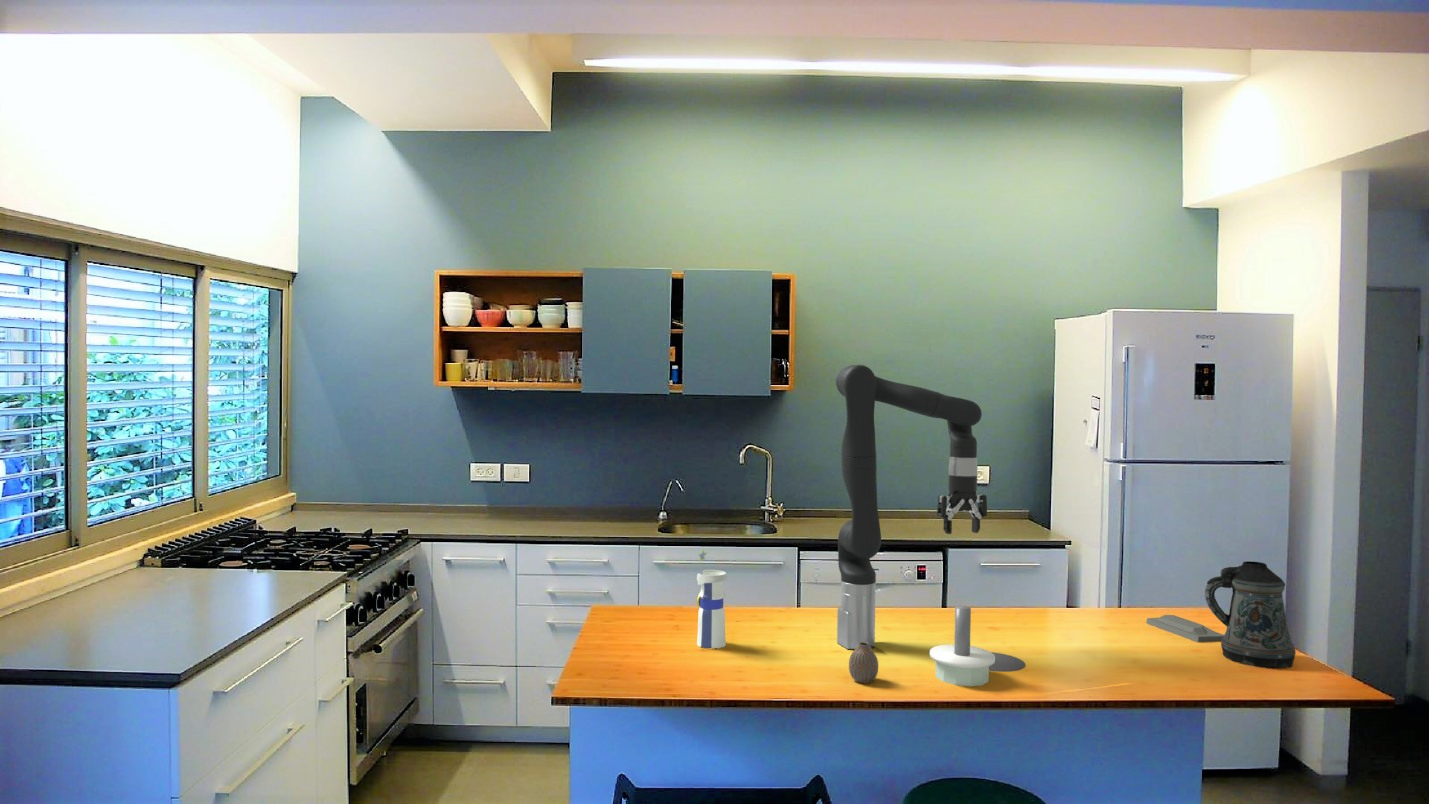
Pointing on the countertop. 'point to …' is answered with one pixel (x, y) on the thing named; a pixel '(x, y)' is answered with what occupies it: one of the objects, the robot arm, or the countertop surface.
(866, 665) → the vase
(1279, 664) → the beer stein
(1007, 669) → the mat
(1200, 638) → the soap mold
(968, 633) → the lid
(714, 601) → the water bottle
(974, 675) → the bowl
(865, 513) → the robot arm
